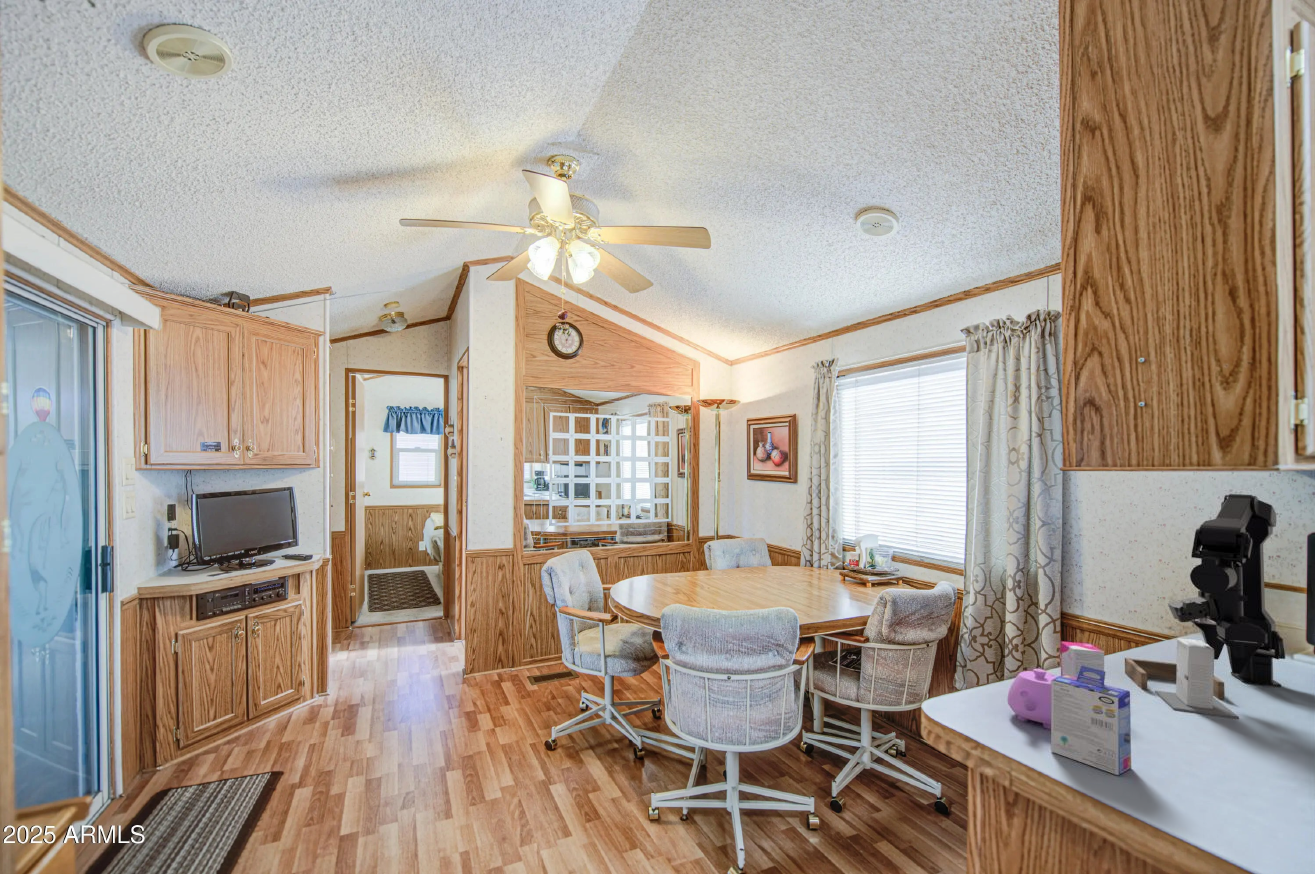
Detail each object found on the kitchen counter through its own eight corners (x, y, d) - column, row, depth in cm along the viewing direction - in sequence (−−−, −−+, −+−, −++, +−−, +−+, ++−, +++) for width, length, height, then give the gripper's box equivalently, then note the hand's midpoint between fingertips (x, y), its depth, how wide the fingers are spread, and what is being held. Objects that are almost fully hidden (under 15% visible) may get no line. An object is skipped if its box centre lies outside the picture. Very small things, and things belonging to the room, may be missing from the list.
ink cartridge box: (1133, 767, 97) (1132, 675, 97) (1121, 777, 93) (1119, 682, 94) (1063, 743, 105) (1062, 658, 105) (1050, 752, 101) (1049, 664, 102)
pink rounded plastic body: (1084, 720, 115) (1083, 670, 115) (1055, 742, 105) (1054, 688, 106) (1023, 702, 123) (1023, 656, 123) (992, 721, 113) (991, 671, 114)
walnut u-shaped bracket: (1124, 672, 141) (1124, 657, 141) (1201, 682, 136) (1200, 666, 136) (1141, 688, 131) (1141, 672, 131) (1224, 699, 126) (1224, 682, 126)
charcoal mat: (1154, 692, 129) (1154, 690, 129) (1214, 699, 125) (1214, 697, 125) (1173, 709, 120) (1173, 707, 120) (1238, 718, 116) (1238, 716, 116)
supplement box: (1106, 709, 120) (1105, 651, 120) (1072, 707, 121) (1071, 648, 121) (1091, 698, 125) (1090, 642, 126) (1059, 696, 126) (1058, 640, 127)
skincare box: (1175, 695, 126) (1174, 636, 127) (1202, 699, 125) (1201, 639, 125) (1187, 706, 121) (1186, 645, 121) (1216, 710, 119) (1214, 647, 119)
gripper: (1156, 576, 134) (1157, 647, 133) (1192, 592, 116) (1193, 675, 116) (1220, 580, 129) (1222, 654, 129) (1268, 598, 112) (1270, 684, 111)
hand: (1224, 665), depth 121 cm, fingers open, 9 cm apart
